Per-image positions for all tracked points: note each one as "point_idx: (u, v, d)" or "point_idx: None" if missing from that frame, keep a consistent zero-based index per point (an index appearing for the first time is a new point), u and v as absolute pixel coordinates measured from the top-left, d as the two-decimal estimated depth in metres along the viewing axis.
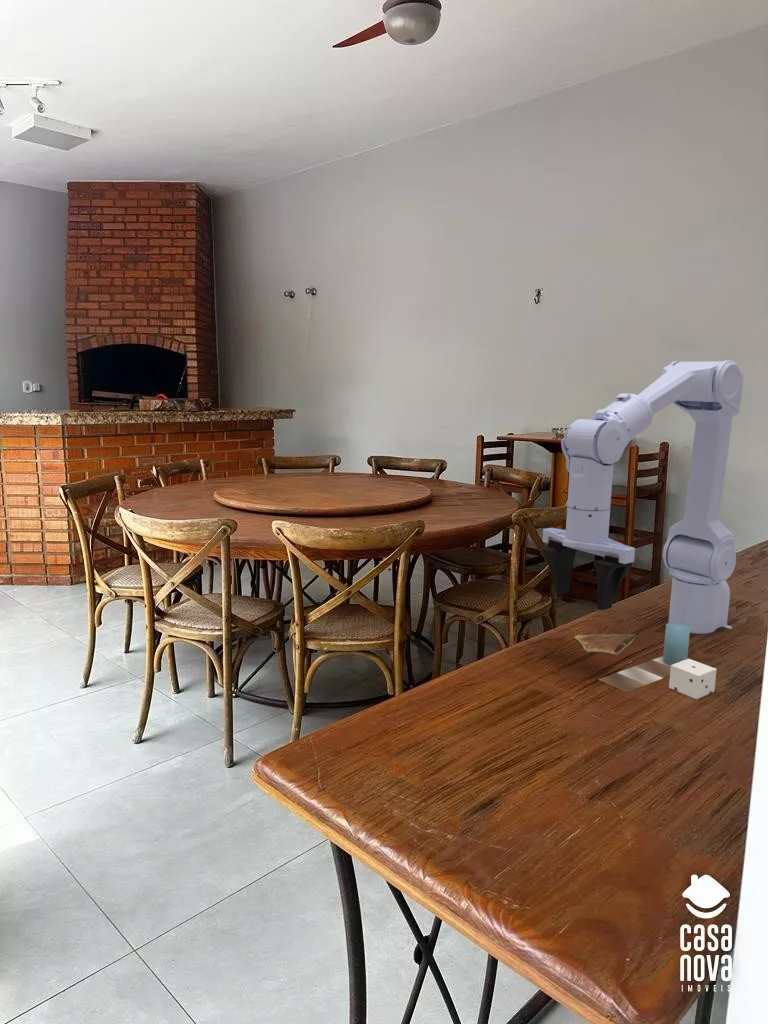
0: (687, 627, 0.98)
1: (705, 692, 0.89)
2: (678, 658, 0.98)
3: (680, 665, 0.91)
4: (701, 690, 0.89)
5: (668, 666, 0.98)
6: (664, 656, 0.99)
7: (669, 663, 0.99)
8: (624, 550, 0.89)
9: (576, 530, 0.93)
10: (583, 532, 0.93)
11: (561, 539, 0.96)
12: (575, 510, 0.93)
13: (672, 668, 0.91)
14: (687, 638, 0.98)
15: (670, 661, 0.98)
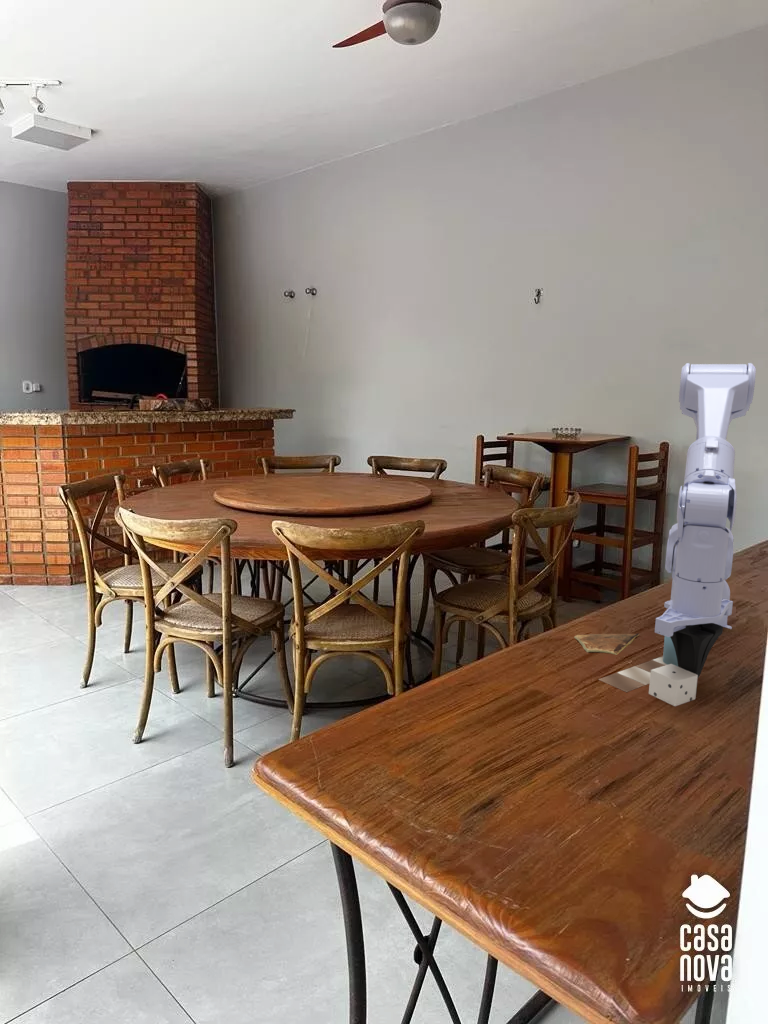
0: None
1: (684, 698, 0.87)
2: None
3: (660, 670, 0.89)
4: (680, 696, 0.87)
5: None
6: (664, 656, 0.99)
7: (669, 663, 0.99)
8: None
9: None
10: (673, 595, 0.89)
11: None
12: None
13: (652, 673, 0.89)
14: None
15: (670, 661, 0.98)
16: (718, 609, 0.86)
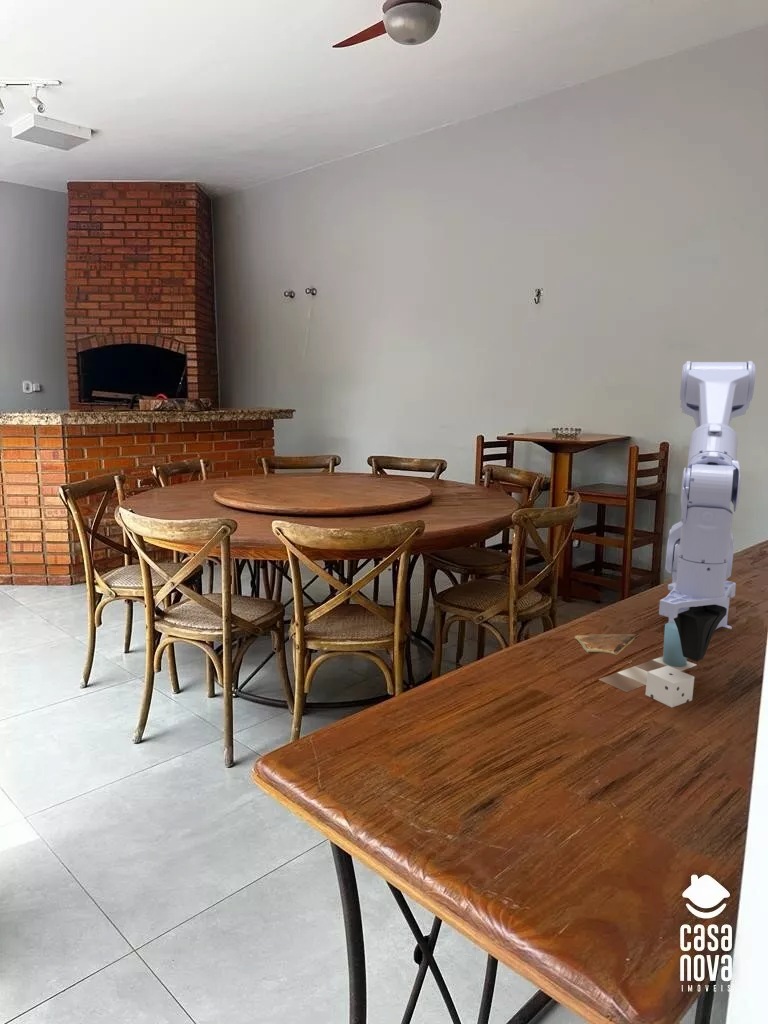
0: None
1: (681, 700, 0.87)
2: (677, 658, 0.98)
3: (657, 672, 0.89)
4: (677, 698, 0.86)
5: None
6: (664, 656, 0.99)
7: (669, 663, 0.99)
8: (661, 600, 0.85)
9: None
10: (676, 578, 0.89)
11: None
12: None
13: (649, 675, 0.89)
14: None
15: (669, 661, 0.98)
16: (722, 590, 0.86)
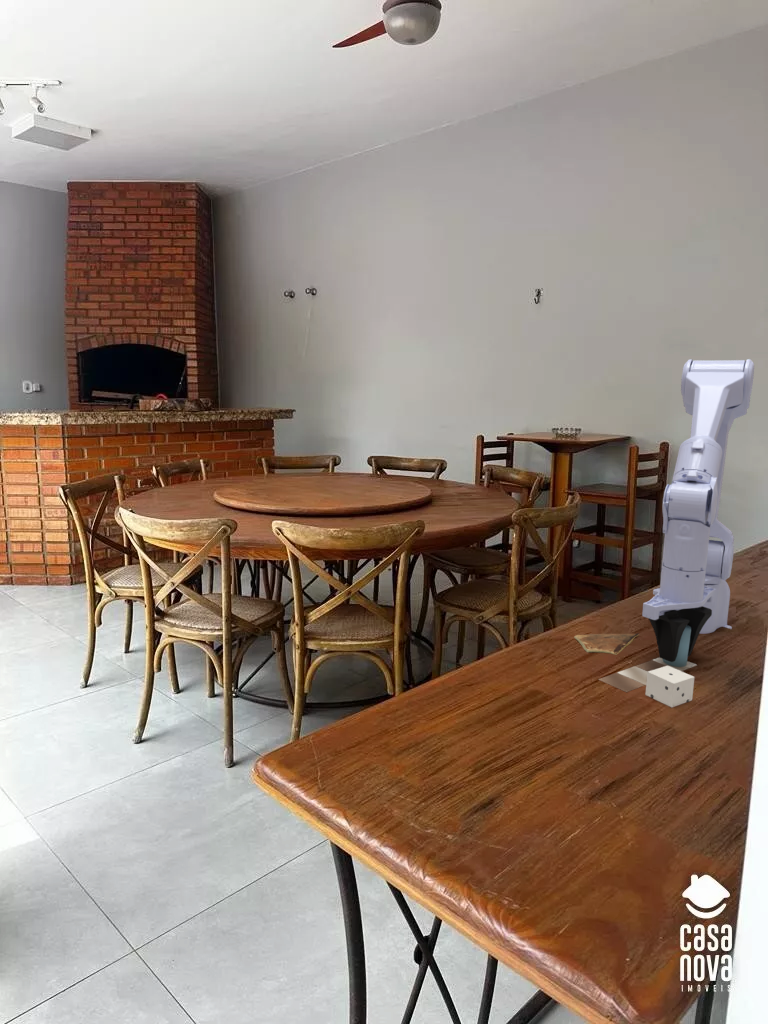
0: (688, 628, 0.98)
1: (681, 700, 0.87)
2: (676, 658, 0.98)
3: (657, 672, 0.89)
4: (677, 698, 0.86)
5: None
6: None
7: (668, 662, 0.99)
8: None
9: None
10: (660, 583, 0.99)
11: None
12: None
13: (649, 675, 0.89)
14: (687, 639, 0.97)
15: None
16: (700, 595, 0.95)
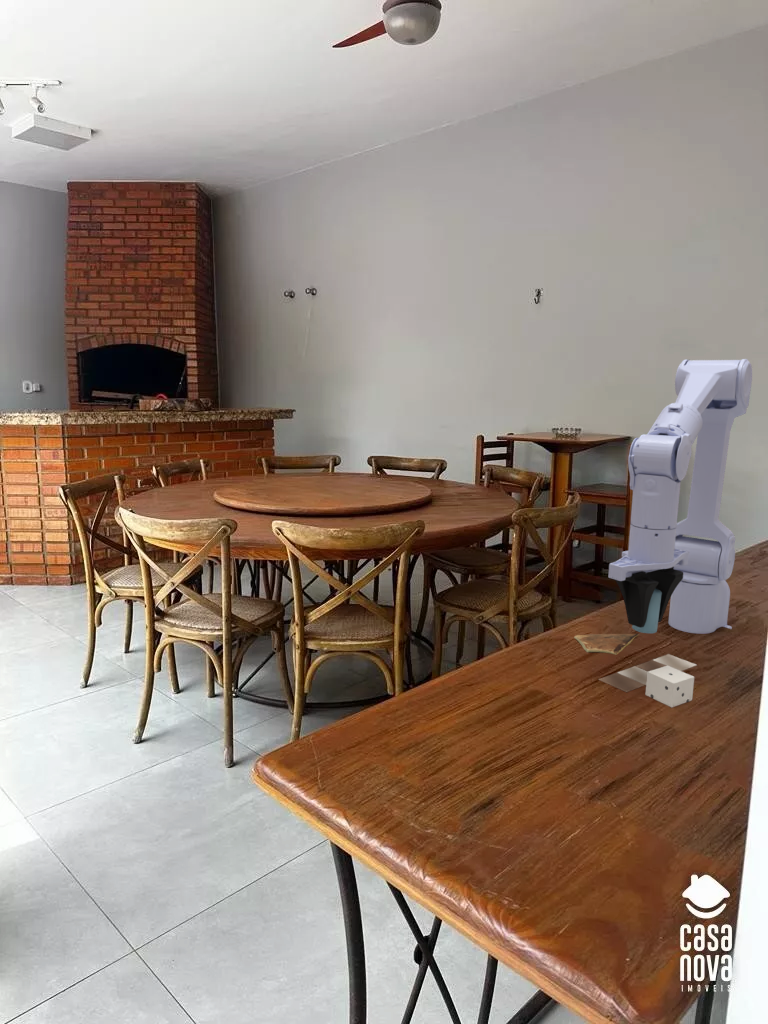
0: (658, 592, 0.92)
1: (681, 700, 0.87)
2: (645, 624, 0.92)
3: (657, 672, 0.89)
4: (677, 698, 0.86)
5: None
6: None
7: (637, 629, 0.93)
8: (610, 564, 0.89)
9: None
10: None
11: None
12: None
13: (649, 675, 0.89)
14: (657, 603, 0.92)
15: None
16: (670, 556, 0.90)
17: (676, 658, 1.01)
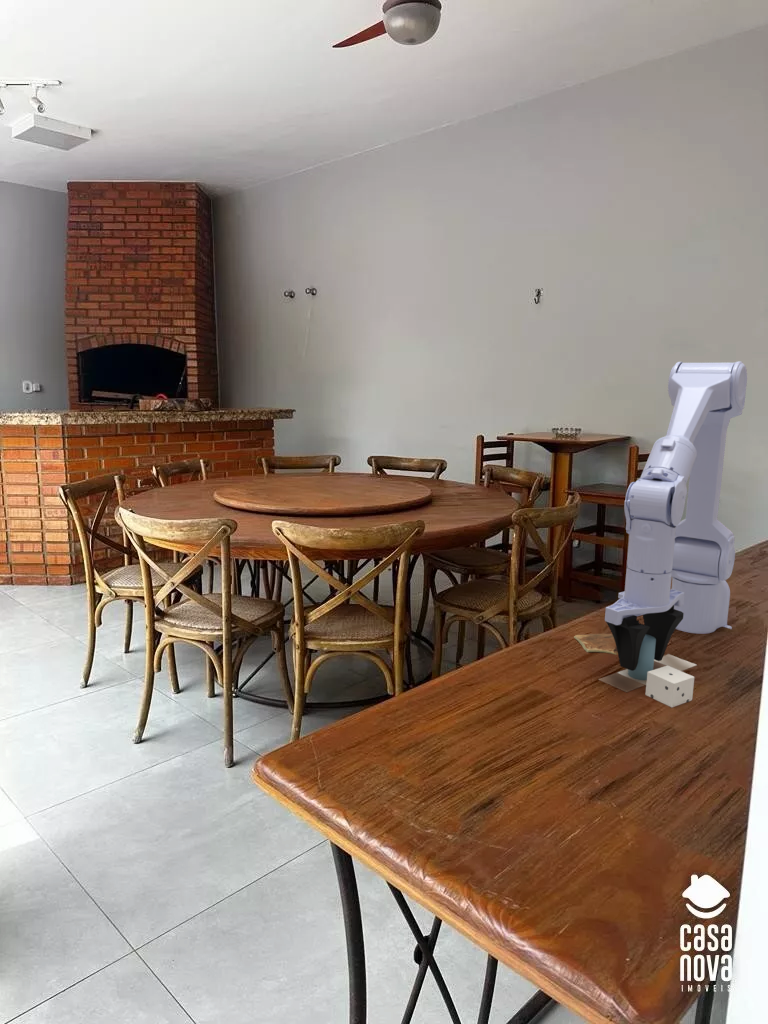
0: (653, 639, 0.94)
1: (681, 700, 0.87)
2: (641, 671, 0.94)
3: (657, 672, 0.89)
4: (677, 698, 0.86)
5: None
6: None
7: (633, 676, 0.94)
8: (606, 607, 0.90)
9: None
10: None
11: None
12: None
13: (649, 675, 0.89)
14: (651, 651, 0.93)
15: (633, 674, 0.94)
16: (666, 599, 0.91)
17: (676, 658, 1.01)
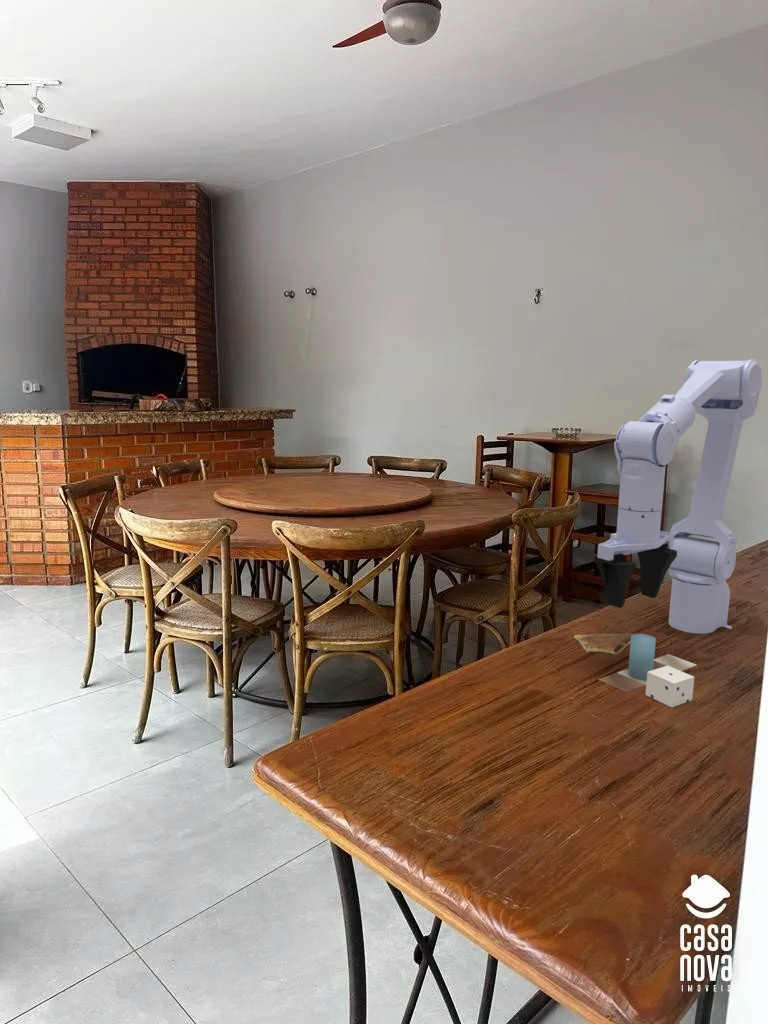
0: (653, 639, 0.94)
1: (681, 700, 0.87)
2: (641, 671, 0.94)
3: (657, 672, 0.89)
4: (677, 698, 0.86)
5: None
6: (629, 668, 0.95)
7: (633, 676, 0.94)
8: None
9: None
10: None
11: None
12: None
13: (649, 675, 0.89)
14: (651, 651, 0.93)
15: (633, 674, 0.94)
16: (656, 537, 0.94)
17: (676, 658, 1.01)
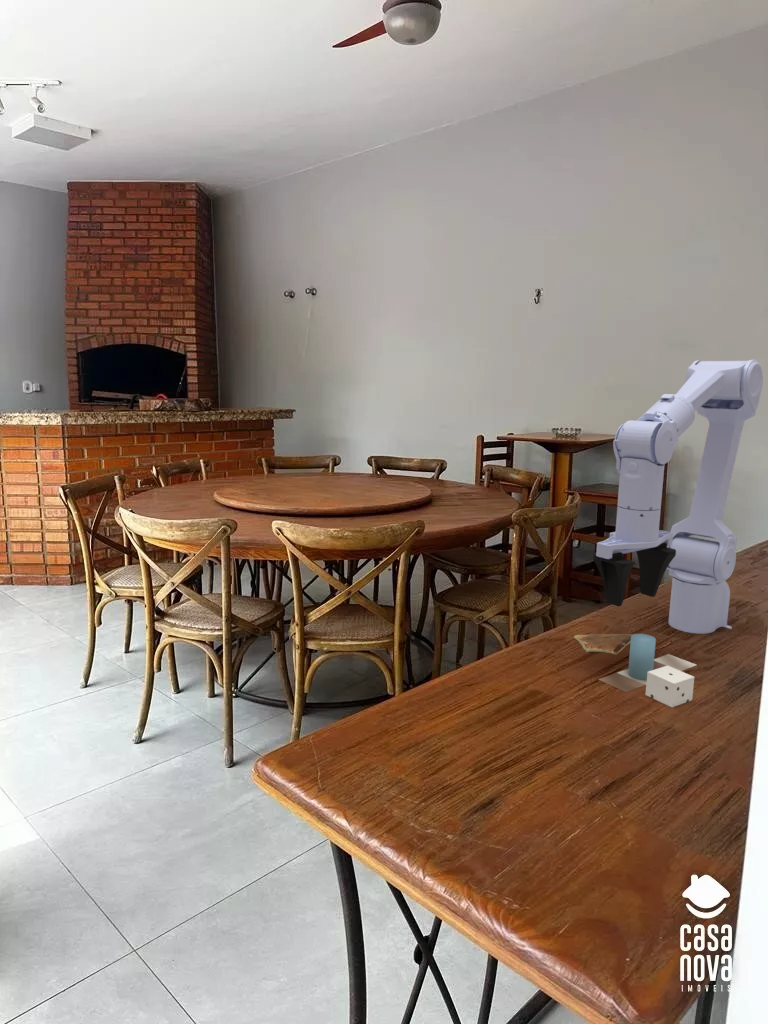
0: (653, 639, 0.94)
1: (681, 700, 0.87)
2: (641, 671, 0.94)
3: (657, 672, 0.89)
4: (677, 698, 0.86)
5: None
6: (629, 668, 0.95)
7: (633, 676, 0.94)
8: (598, 543, 0.94)
9: None
10: None
11: None
12: None
13: (649, 675, 0.89)
14: (651, 651, 0.93)
15: (633, 674, 0.94)
16: (655, 535, 0.95)
17: (676, 658, 1.01)
